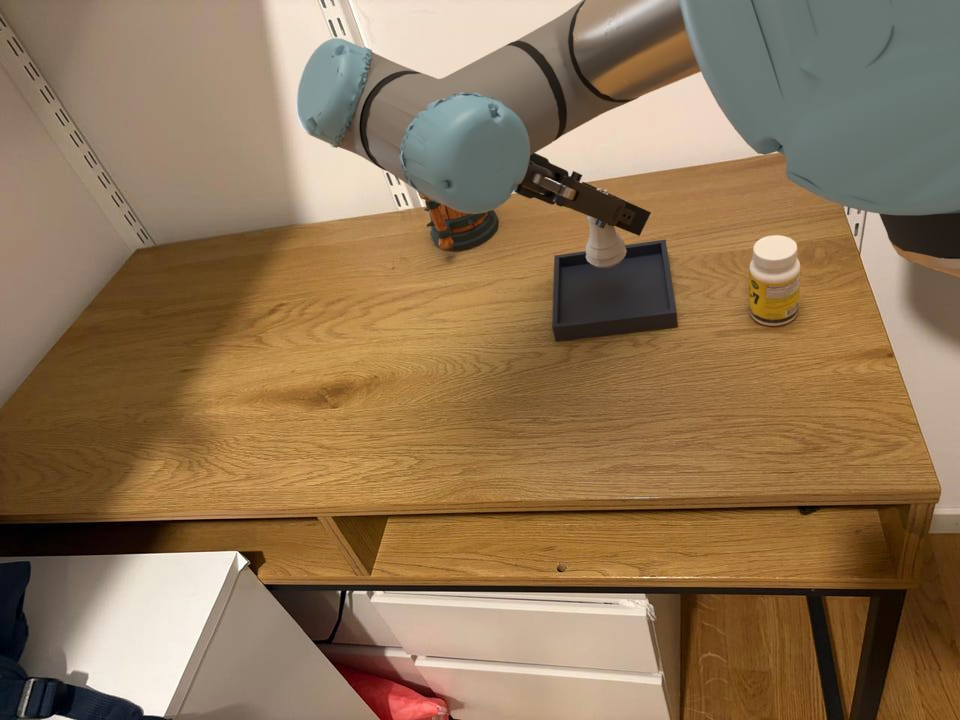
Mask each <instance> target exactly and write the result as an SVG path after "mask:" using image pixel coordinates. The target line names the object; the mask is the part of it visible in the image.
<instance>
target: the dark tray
mask: <svg viewBox="0 0 960 720" xmlns="http://www.w3.org/2000/svg"><path fill="white" fill-rule="evenodd" d="M625 248H626V251H627V252H626V255H625V257H624V258H623V260H622V261H621V262H620V263H619V264H617V265H615V266H612V267H608V268H598V267H595V266H593V265H592V264H590V263H589V262H588V261H587V259H586V251H585V250H583V251H577V252H569V253H562V254H556V255H554V256H553V258H554V259H553V284H552V285H553V286H552V314H551V315H552V316H551V317H552V318H551V331H552V334H553V339H554V341H555V342H561V341H570V340H579V339H587V338H588V339H589V338H595V337H602V336H603V337H604V336H613V335H620V334H621V335H622V334H629V333H638V332H646V331H647V332H648V331H655V330H663V329H671V328H678V327H679V326H678V325H679V324H678V315H677V314H678V313H677V308H676V307H677V306H676V300H675V294H674V285H673V280H672V272H671V266H670V265H671V264H670V259H669V258H670V257H669V253H668V246H667V239H659V240H651V241H645V242H638V243H631V244H625Z"/></svg>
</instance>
